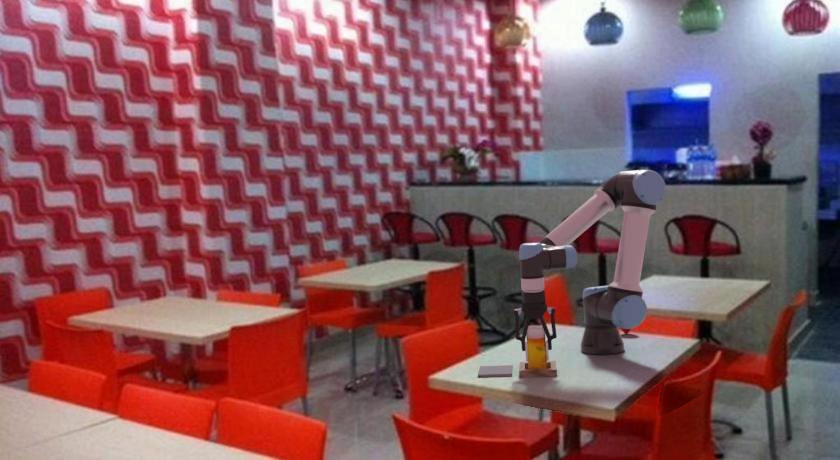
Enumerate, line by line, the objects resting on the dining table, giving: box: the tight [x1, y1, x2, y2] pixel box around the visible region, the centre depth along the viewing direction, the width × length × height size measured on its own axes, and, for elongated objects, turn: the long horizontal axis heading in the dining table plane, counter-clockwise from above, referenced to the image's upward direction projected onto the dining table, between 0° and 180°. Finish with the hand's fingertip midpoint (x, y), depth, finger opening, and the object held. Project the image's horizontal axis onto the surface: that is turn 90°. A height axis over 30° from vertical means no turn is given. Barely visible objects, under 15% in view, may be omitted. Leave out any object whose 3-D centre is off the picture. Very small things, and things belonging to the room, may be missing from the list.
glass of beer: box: [526, 324, 548, 369], centre depth 254 cm, size 6×6×15 cm
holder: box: [518, 360, 558, 378], centre depth 254 cm, size 12×12×2 cm
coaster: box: [477, 364, 513, 378], centre depth 257 cm, size 11×11×1 cm
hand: (537, 360), depth 254 cm, fingers closed on glass of beer, 6 cm apart
